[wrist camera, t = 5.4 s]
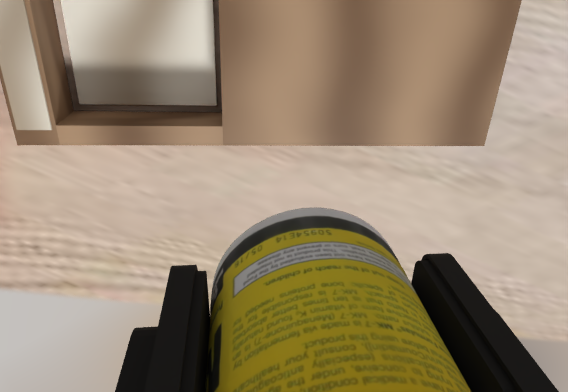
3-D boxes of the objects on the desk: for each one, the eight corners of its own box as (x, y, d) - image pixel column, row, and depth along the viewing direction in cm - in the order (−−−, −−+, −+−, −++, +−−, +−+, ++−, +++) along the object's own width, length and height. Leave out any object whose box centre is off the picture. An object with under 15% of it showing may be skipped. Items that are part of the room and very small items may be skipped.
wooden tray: (508, -66, 21) (541, -71, 19) (463, 130, 26) (485, 146, 23) (-13, -92, 19) (-48, -100, 17) (38, 128, 24) (16, 145, 21)
